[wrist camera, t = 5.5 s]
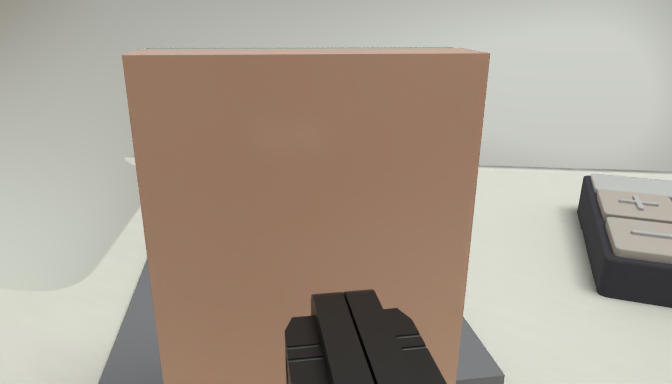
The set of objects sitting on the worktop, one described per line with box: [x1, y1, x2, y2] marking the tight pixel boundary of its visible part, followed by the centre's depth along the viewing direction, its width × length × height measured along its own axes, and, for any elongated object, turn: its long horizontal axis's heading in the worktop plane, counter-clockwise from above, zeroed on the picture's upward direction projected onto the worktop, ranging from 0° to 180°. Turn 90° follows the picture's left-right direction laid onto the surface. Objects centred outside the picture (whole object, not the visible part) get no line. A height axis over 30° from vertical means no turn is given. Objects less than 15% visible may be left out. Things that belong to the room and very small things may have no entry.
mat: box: [99, 259, 505, 384], centre depth 31 cm, size 20×18×1 cm
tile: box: [122, 47, 490, 384], centre depth 18 cm, size 2×10×15 cm, turn 99°
